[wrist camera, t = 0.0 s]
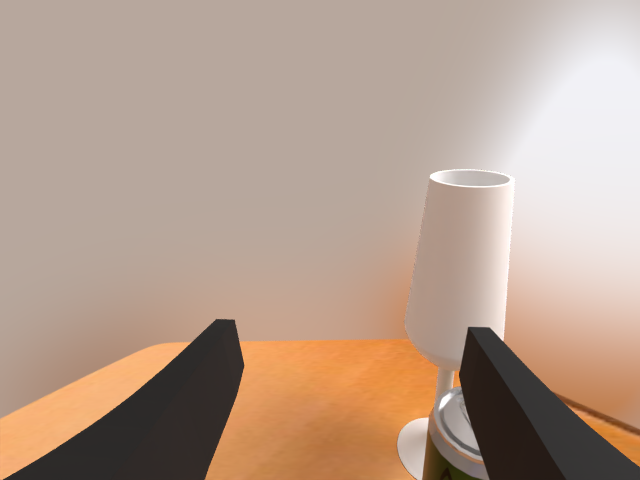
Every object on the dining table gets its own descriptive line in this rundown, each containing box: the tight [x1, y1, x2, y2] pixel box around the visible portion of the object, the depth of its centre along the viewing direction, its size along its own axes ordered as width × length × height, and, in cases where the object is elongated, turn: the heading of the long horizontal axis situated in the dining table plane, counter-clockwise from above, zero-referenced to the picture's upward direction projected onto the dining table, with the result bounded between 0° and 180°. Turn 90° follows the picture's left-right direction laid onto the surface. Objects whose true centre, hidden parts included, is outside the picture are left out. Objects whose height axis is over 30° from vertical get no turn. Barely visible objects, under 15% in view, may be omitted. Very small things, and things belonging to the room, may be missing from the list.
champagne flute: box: [397, 169, 515, 480], centre depth 26 cm, size 7×7×24 cm
